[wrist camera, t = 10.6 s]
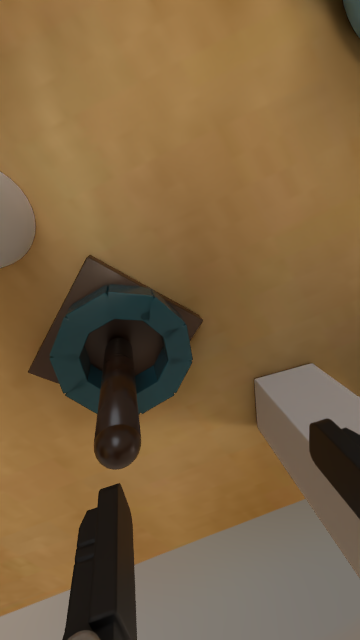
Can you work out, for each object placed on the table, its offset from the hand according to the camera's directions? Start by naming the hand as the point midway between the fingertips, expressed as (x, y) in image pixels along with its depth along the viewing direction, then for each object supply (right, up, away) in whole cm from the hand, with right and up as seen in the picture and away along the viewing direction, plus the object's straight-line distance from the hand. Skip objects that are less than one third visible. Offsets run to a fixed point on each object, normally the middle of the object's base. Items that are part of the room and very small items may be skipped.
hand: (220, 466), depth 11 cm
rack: (-7, +4, +14) cm, 16 cm away
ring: (-6, +4, +12) cm, 14 cm away
